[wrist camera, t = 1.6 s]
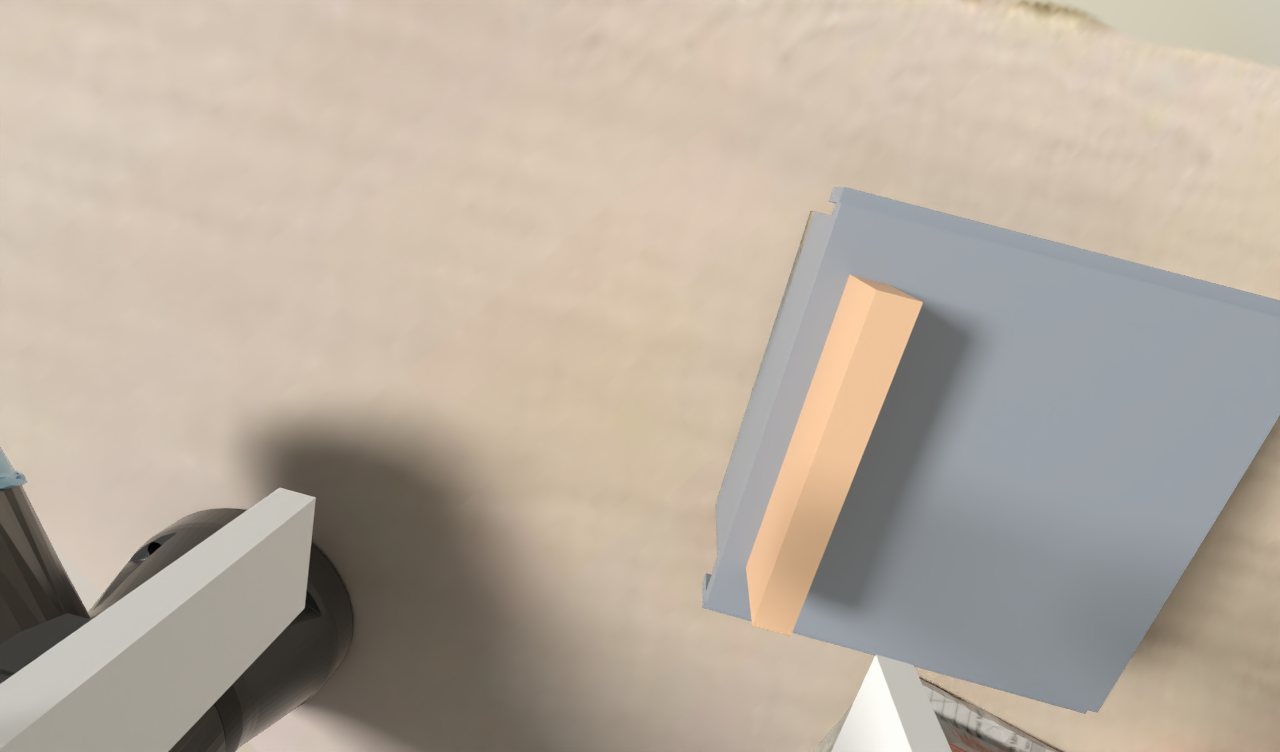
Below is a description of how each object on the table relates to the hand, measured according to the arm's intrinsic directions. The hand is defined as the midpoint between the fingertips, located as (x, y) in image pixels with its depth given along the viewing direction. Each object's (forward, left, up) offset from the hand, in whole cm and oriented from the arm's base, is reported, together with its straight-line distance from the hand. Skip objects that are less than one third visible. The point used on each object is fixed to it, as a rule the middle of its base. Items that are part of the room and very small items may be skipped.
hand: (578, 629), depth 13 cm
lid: (+15, 0, -17) cm, 23 cm away
